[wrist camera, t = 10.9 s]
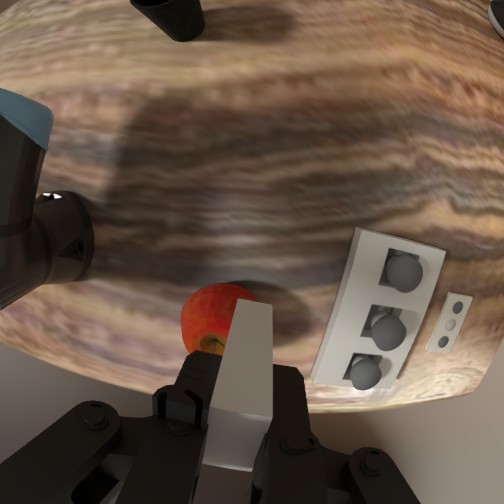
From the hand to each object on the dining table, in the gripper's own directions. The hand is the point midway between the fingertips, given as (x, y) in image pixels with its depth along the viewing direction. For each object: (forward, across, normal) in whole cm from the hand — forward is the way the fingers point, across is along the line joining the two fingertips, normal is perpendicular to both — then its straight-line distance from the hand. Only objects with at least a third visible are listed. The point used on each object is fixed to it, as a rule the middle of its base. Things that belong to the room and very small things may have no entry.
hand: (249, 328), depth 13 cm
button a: (+26, +19, -1) cm, 32 cm away
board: (+26, +19, -9) cm, 34 cm away
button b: (+24, +19, -9) cm, 32 cm away
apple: (+27, -3, -13) cm, 30 cm away
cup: (+27, -16, +28) cm, 42 cm away
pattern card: (+26, +35, -9) cm, 44 cm away
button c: (+26, +19, -17) cm, 36 cm away
